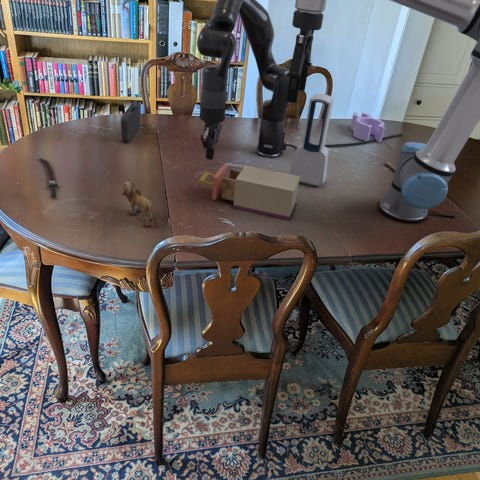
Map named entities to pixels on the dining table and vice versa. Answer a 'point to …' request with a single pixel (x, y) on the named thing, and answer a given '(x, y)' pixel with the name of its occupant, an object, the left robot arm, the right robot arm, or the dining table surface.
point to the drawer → (222, 183)
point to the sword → (52, 181)
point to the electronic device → (313, 147)
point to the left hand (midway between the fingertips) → (209, 158)
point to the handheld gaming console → (130, 121)
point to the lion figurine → (137, 201)
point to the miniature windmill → (294, 107)
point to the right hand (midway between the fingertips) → (295, 95)
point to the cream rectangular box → (266, 192)
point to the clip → (367, 127)
